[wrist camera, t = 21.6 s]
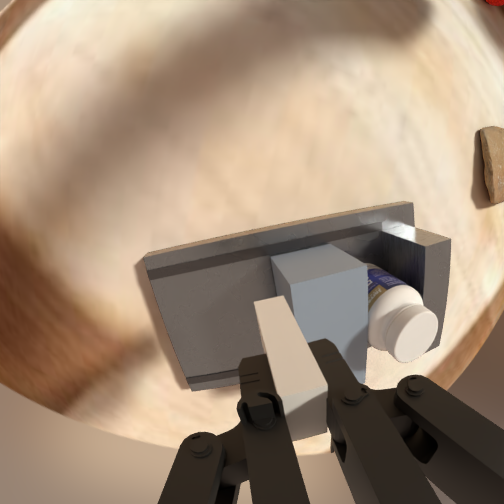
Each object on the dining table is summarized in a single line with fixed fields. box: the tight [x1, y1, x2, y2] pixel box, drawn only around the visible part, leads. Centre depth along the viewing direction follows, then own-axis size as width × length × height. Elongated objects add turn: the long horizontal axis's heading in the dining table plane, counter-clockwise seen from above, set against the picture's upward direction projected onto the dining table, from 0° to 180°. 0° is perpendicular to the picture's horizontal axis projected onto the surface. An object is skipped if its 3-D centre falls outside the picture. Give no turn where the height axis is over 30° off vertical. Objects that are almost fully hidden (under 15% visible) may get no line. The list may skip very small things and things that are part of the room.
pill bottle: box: [364, 263, 438, 363], centre depth 19 cm, size 5×5×9 cm
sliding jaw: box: [270, 244, 368, 427], centre depth 21 cm, size 18×5×6 cm, turn 11°
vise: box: [143, 201, 451, 391], centre depth 21 cm, size 14×24×8 cm, turn 101°
